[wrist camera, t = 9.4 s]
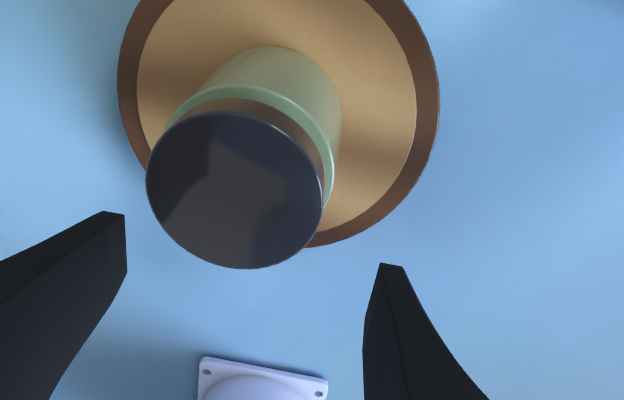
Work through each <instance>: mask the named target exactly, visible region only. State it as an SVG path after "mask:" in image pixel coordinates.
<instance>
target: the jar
mask: <svg viewBox="0 0 624 400" xmlns="http://www.w3.org/2000/svg"><path fill="white" fill-rule="evenodd" d="M342 126H343V111H342V105H341V101H340V98H339V95H338V93H337V90H336V88H335V86H334V84H333V83H332V81H331V80H330V78H329V77H328V76H327V74H326V73H325V72H324V71H323V70H322V69H321V68H320V67H319V66H318V65H317V64H316V63H314V62H313V61H312V60H310V59H309V58H307V57H305V56H304V55H302V54H300V53H298V52H295V51H292V50H290V49H286V48H282V47H274V46H260V47H254V48H249V49H246V50H243V51H241V52H239V53H236V54H234V55H233V56H231V57H230V58H228V59H227V60H226V61H225V62H223V63H222V64H221V65H220V66H219V67H218V68H217V69H216V70H215V71H214V72H213V73H212V74H211V75H210V76H209V77H208V78H207V79H206V80H205V81H204V82H203V83H202V84H201V85H200V86H199V87H198V88H197V89H196V90H195V91H194V92H193V93H192V94H191V95H190V96H189V97H188V98H187V99H186V100H185V101H184V102H183V103H182V104H181V105H180V106H179V107H178V109H177V110H176V111H175V112H174V114H173V115H172V116H171V118H170V120H169V121H168V123H167V125H166V128H165V130H164V133H163V134H162V136H161V137H160V138H159V139H158V141H157V142H156V144H155V145H154V147H153V149H152V151H151V153H150V156H149V159H148V162H147V167H146V178H145V182H146V192H147V196H148V200H149V203H150V206H151V209H152V211H153V213H154V215H155V217H156V219H157V221H158V222H159V223H160V225H161V226H162V228H163V229H164V230H165V231H166V233H167V234H168V235H169V236H170V237H171V238H172V239H173V240H174V241H175V242H176V243H177V244H178V245H180V246H181V247H182V248H184V249H185V250H186V251H188V252H190V253H191V254H193V255H195V256H196V257H198V258H200V259H203V260H205V261H207V262H210V263H213V264H215V265H219V266H223V267H227V268H234V269H259V268H264V267H269V266H272V265H276V264H279V263H281V262H283V261H285V260H287V259H289V258H291V257H292V256H294V255H295V254H297V253H298V252H299V251H300V250H301V249H303V248H304V247H305V246H306V244H307V243H308V242H309V241H310V240H311V238H312V237H313V235H314V234H315V232H316V230H317V228H318V226H319V224H320V220H321V217H322V213H323V210H324V209H325V207H326V206H327V204H328V201H329V199H330V197H331V194H332V190H333V186H334V180H335V173H336V167H337V160H338V153H339V147H340V140H341V133H342Z"/></svg>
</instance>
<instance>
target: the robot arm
mask: <svg viewBox="0 0 624 400" xmlns="http://www.w3.org/2000/svg"><path fill="white" fill-rule="evenodd" d="M126 274H127V257H126V238H125V218H124V215H123V214H117V213H112V212H107V211H102V212H99V213H97V214H95V215H93V216H91V217H89V218H87V219H85V220H83V221H81V222H79V223H77V224H75V225H74V226H72V227H70V228H68V229H66V230H64V231H62V232H60V233H58V234H56V235H54V236H52V237H50V238H48V239H46V240H44V241H43V242H41V243H39V244H36V245H34V246H32V247H30V248H28V249H26V250H24V251H21V252H19V253H17V254H15V255H13V256H11V257H8V258H6V259H4V260H2V261H0V400H49V398H50V396H51V394H52V393H53V391H54V389H55V387H56V385H57V384H58V382H59V380H60V379H61V377H62V375H63V374H64V372H65V371H66V369H67V367H68V366H69V365H70V363H71V362H72V360H73V359H74V357H75V356H76V354H77V353H78V352H79V350H80V349H81V347H82V346H83V344H84V343H85V341H86V340H87V339H88V337H89V336H90V334H91V333H92V331H93V330H94V329H95V327H96V326H97V324H98V323H99V321H100V320H101V318H102V317H103V315H104V314H105V313H106V311H107V310H108V308H109V307H110V305H111V304H112V302H113V300H114V298H115V296H116V294H117V292H118V290H119V288H120V286H121V284H122V282H123V280H124V278H125V276H126ZM362 353H363V380H364V400H489V399H488V398H487V396H486V395H485V394H484V393H483V392H482V391H481V390H480V389H479V388H478V387H477V385H476V384H475V383H474V382H473V381H472V380H471V378H470V377H469V376H468V375H467V374H466V372H465V371H464V370H463V369H462V367H461V366H460V365H459V363H458V362H457V361H456V359H455V358H454V357H453V355H452V354H451V352H450V351H449V350H448V348H447V347H446V345H445V344H444V342H443V340H442V339H441V337H440V336H439V334H438V333H437V331H436V329H435V328H434V326H433V325H432V323H431V321H430V319H429V318H428V316H427V314H426V312H425V311H424V309H423V307H422V305H421V303H420V301H419V299H418V297H417V295H416V293H415V291H414V289H413V287H412V285H411V283H410V281H409V279H408V277H407V275H406V272H405V270H404V269H403V267H402V266H396V265H391V264H385V263H380V264H379V268H378V272H377V275H376V279H375V283H374V286H373V290H372V294H371V297H370V301H369V304H368V308H367V312H366V315H365V323H364V335H363V349H362ZM319 391H320V392H319ZM327 391H328V382H327V381H326V380H324V379H322V378H317V377H311V376H306V375H301V374H296V373H291V372H286V371H280V370H275V369H270V368H265V367H260V366H255V365H249V364H244V363H239V362H234V361H229V360H224V359H218V358H213V357H203V358H202V359H201V361H200V364H199V379H198V399H197V400H325V399H326V395H327Z"/></svg>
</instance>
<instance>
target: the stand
mask: <svg viewBox="0 0 624 400" xmlns="http://www.w3.org/2000/svg"><path fill="white" fill-rule="evenodd" d="M260 46H274V47H282V48H286V49H290V50H292V51H295V52H298V53H300V54H302V55H304V56H305V57H307V58H309V59H310V60H312V61H313V62H314V63H316V64H317V65H318V66H319V67H320V68H321V69H322V70H323V71H324V72H325V73H326V74H327V76H328V77H329V78H330V80H331V81H332V83H333V84H334V86H335V88H336V90H337V93H338V95H339V98H340V101H341V105H342V111H343V126H342V133H341V140H340V147H339V153H338V160H337V167H336V173H335V180H334V186H333V190H332V194H331V197H330V199H329V201H328V204H327V206H326V207H325V209H324V210H323V213H322V217H321V220H320V224H319V226H318V228H317V230H316V232H315V234H314V235H313V237H312V238H311V240H310V241H309V242H308V243H307V244H306V246H305V247H304V248H311V247H317V246H322V245H327V244H331V243H335V242H338V241H341V240H344V239H347V238H349V237H352V236H354V235H356V234H358V233H360V232H362V231H364V230H366V229H368V228H369V227H371V226H373V225H374V224H376V223H377V222H379V221H380V220H382V219H383V218H384V217H385V216H387V215H388V214H389V213H390V212H392V211H393V210H394V209H395V208H396V207H397V206H398V205H399V204H400V203H401V202H402V201H403V200H404V198H405V197H406V196H407V195H408V194H409V192H410V191H411V190H412V188H413V187H414V186H415V184H416V183H417V181H418V180H419V178H420V176H421V174H422V172H423V171H424V169H425V167H426V165H427V163H428V160H429V157H430V155H431V152H432V150H433V147H434V143H435V139H436V134H437V130H438V125H439V113H440V94H439V81H438V76H437V71H436V66H435V62H434V59H433V56H432V53H431V50H430V47H429V44H428V41H427V39H426V37H425V35H424V33H423V31H422V29H421V27H420V25H419V23H418V21H417V19H416V17H415V16H414V14H413V13H412V11H411V10H410V8H409V7H408V6H407V4H406V3H405V1H404V0H141V1H140V2H139V4H138V5H137V7H136V9H135V11H134V13H133V15H132V17H131V19H130V21H129V23H128V25H127V28H126V31H125V34H124V38H123V41H122V44H121V48H120V55H119V61H118V71H117V90H118V99H119V108H120V112H121V116H122V120H123V124H124V128H125V130H126V133H127V136H128V138H129V141H130V144H131V146H132V148H133V150H134V152H135V154H136V156H137V158H138V159H139V161H140V163H141V165H142V166H143V168H144V169H145V171H146V167H147V162H148V159H149V156H150V153H151V151H152V149H153V147H154V145H155V144H156V142H157V141H158V139H159V138H160V137H161V136H162V134H163V133H164V130H165V128H166V125H167V123H168V121H169V120H170V118H171V116H172V115H173V114H174V112H175V111H176V110H177V109H178V107H179V106H180V105H181V104H182V103H183V102H184V101H185V100H186V99H187V98H188V97H189V96H190V95H191V94H192V93H193V92H194V91H195V90H196V89H197V88H198V87H199V86H200V85H201V84H202V83H203V82H204V81H205V80H206V79H207V78H208V77H209V76H210V75H211V74H212V73H213V72H214V71H215V70H216V69H217V68H218V67H219V66H220V65H221V64H222V63H223V62H225V61H226V60H227V59H228V58H230V57H231V56H233V55H234V54H236V53H239V52H241V51H243V50H246V49H249V48H254V47H260Z"/></svg>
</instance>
